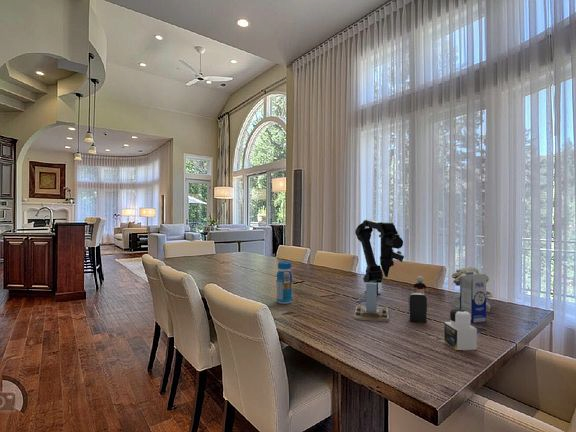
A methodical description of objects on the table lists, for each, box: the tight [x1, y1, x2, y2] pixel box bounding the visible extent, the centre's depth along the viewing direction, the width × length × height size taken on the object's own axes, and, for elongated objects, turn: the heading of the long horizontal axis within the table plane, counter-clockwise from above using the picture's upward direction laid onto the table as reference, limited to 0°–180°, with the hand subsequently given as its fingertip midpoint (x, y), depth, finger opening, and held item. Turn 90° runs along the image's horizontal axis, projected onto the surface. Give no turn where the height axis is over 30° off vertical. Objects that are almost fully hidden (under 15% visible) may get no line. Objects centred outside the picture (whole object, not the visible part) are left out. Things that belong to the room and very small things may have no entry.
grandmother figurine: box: [411, 275, 429, 296], centre depth 160 cm, size 8×4×13 cm, turn 84°
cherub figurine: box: [449, 266, 493, 313], centre depth 152 cm, size 18×18×18 cm
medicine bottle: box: [443, 308, 478, 351], centre depth 106 cm, size 7×7×12 cm
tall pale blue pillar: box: [365, 282, 378, 313], centre depth 136 cm, size 5×4×13 cm
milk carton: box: [459, 272, 487, 324], centre depth 131 cm, size 7×7×20 cm
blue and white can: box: [275, 260, 294, 305], centre depth 159 cm, size 8×8×20 cm
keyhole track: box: [353, 304, 390, 323], centre depth 138 cm, size 16×14×3 cm
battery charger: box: [408, 292, 428, 323], centre depth 130 cm, size 7×4×11 cm, turn 79°
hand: (386, 277), depth 160 cm, fingers closed
